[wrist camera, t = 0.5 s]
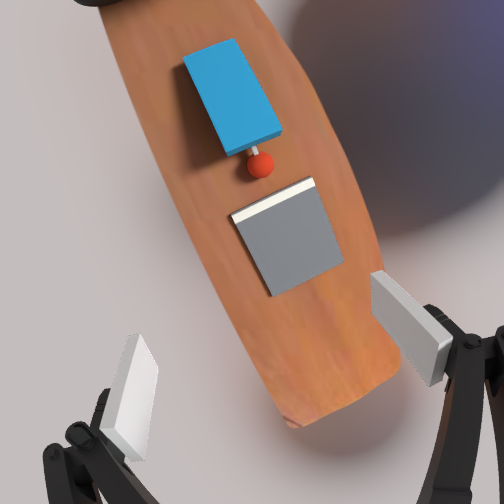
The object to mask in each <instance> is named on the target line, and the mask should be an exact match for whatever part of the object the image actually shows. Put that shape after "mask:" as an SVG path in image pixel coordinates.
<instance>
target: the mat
mask: <svg viewBox="0 0 504 504" xmlns="http://www.w3.org/2000/svg"><path fill="white" fill-rule="evenodd" d="M231 216H232V218H233V220H234V222H235V224H236V226H237V228H238V230H239V232H240V234H241V235H242V237H243V239H244V241H245V243H246V245H247V247H248V249H249V251H250V253H251V255H252V257H253V259H254V261H255V263H256V265H257V267H258V269H259V271H260V272H261V274H262V276H263V278H264V280H265V282H266V284H267V286H268V288H269V290H270V292H271V294H272V296H273V297H274V296H277V295H279V294H281V293H283V292H285V291H287V290H289V289H291V288H293V287H295V286H297V285H299V284H301V283H303V282H305V281H307V280H309V279H311V278H313V277H315V276H317V275H319V274H321V273H323V272H325V271H327V270H329V269H331V268H333V267H335V266H337V265H339V264H341V263H343V262H344V259H343V257H342V254H341V251H340V248H339V245H338V243H337V240H336V237H335V235H334V232H333V229H332V227H331V224H330V221H329V219H328V216H327V214H326V211H325V208H324V206H323V203H322V201H321V198H320V196H319V193H318V191H317V189H316V186H315V183H314V181H313V178H312V177H311V176H308V177H306V178H304V179H302V180H300V181H297V182H295V183H293V184H291V185H289V186H287V187H285V188H283V189H280V190H278V191H276V192H274V193H272V194H270V195H268V196H266V197H264V198H262V199H260V200H257V201H255V202H253V203H251V204H249V205H247V206H245V207H243V208H241V209H239V210H237V211H235V212H233V213H231Z"/></svg>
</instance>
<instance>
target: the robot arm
mask: <svg viewBox="0 0 504 504" xmlns="http://www.w3.org/2000/svg"><path fill="white" fill-rule="evenodd" d="M74 1H76V2H77V3H79V4H81V5H84V6H90V7H92V6H93V7H97V6H104V5H109V4H112V3H115V2H118V1H121V0H74ZM370 279H371V313H372V315H373V316H374V317H375V318H376V319H377V321H378V322H379V323H380V324H381V326H382V327H383V328H384V329H385V331H386V332H387V333H388V334H389V336H390V337H391V338H392V339H393V341H394V342H395V343H396V345H397V346H398V347H399V348H400V350H401V351H402V352H403V353H404V355H405V356H406V357H407V358H408V360H409V361H410V362H411V364H412V365H413V366H414V368H415V369H416V370H417V372H418V373H419V374H420V376H421V377H422V378H423V380H424V381H425V382H426V383H427V385H428V386H429V387H431V386H432V385H435V384H436V383H438V382H440V381H442V379H443V375H444V372H445V373H446V374H447V375H448V377H449V378H448V381H447V385H446V388H445V392H446V394H445V400H444V406H443V411H442V416H441V421H440V426H439V430H438V434H437V439H436V443H435V447H434V450H433V454H432V458H431V461H430V465H429V468H428V472H427V474H426V478H425V481H424V484H423V487H422V489H421V493H420V495H419V498H418V501H417V503H416V504H471V500H472V492H471V490H470V486H471V481H472V477H473V472H474V467H475V462H476V457H477V451H478V445H479V438H480V429H481V422H482V412H483V399H484V382H485V386H486V391H487V395H488V400H489V405H490V410H491V415H492V421H493V427H494V434H495V441H496V449H497V457H498V458H497V459H498V470H499V490H500V504H504V325H503V326H500V327H499V328H498V329H497V331H496V334H495V336H492V337H488V338H483V339H482V338H481V337H480V336H478V335H476V334H466V333H464V332H463V331H462V330H461V329H460V328H459V327H458V326H457V325H456V324H455V323H454V322H453V321H452V320H451V319H449V318H448V317H447V316H446V315H445V314H444V313H443V312H442V311H441V310H440V309H439V308H437V307H435V306H433V305H430V304H428V305H425V306H423V307H422V306H421V305H420V304H419V303H418V302H417V301H416V300H415V299H414V298H413V297H411V296H410V295H409V294H408V293H407V292H406V291H405V290H404V289H403V288H402V287H401V286H399V285H398V284H397V283H396V282H395V281H394V280H393V279H392V278H390V277H389V276H388V275H387V274H386V273H385V272H384V271H383V270H380V271H377V272H373V273H370ZM158 371H159V368H158V366H157V364H156V363H155V361H154V359H153V357H152V355H151V353H150V352H149V350H148V348H147V346H146V344H145V342H144V340H143V338H142V336H141V334H140V333H139V334H134V335H129V336H128V338H127V341H126V344H125V347H124V350H123V352H122V356H121V359H120V362H119V365H118V367H117V371H116V374H115V377H114V380H113V383H112V386H111V388H109V389H104V391H103V392H102V393H101V395H100V396H99V399H98V402H97V406H96V408H95V412H94V414H93V417H92V421H91V424H90V427H89V426H88V425H87V424H86V423H85V422H82V421H80V422H75V423H73V424H72V425H70V426H69V427H68V429H67V431H66V434H65V438H66V440H67V441H68V442H69V443H70V444H71V445H72V446H71V447H68V448H63V447H62V446H61V445H60V444H58V443H53V444H50V445H48V446H47V447H46V449H45V450H44V452H43V464H44V474H45V481H46V488H47V494H48V500H49V504H103V503H102V500H101V497H100V494H99V490H100V492H101V493H102V495H103V496H104V498H105V499H106V501H107V502H108V504H159V503H158V502H157V500H156V499H155V498H154V497H153V496H152V495H151V494H150V492H149V491H148V490H147V489H146V488H145V487H144V486H143V484H142V483H141V482H140V481H139V480H138V478H137V477H136V476H135V474H134V473H133V472H132V471H131V469H130V468H129V467H128V466H127V464H126V463H124V458H125V456H126V457H127V458H128V459H129V460H130V461H146V453H147V444H148V436H149V429H150V422H151V415H152V408H153V402H154V395H155V389H156V383H157V377H158ZM98 489H99V490H98Z"/></svg>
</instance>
